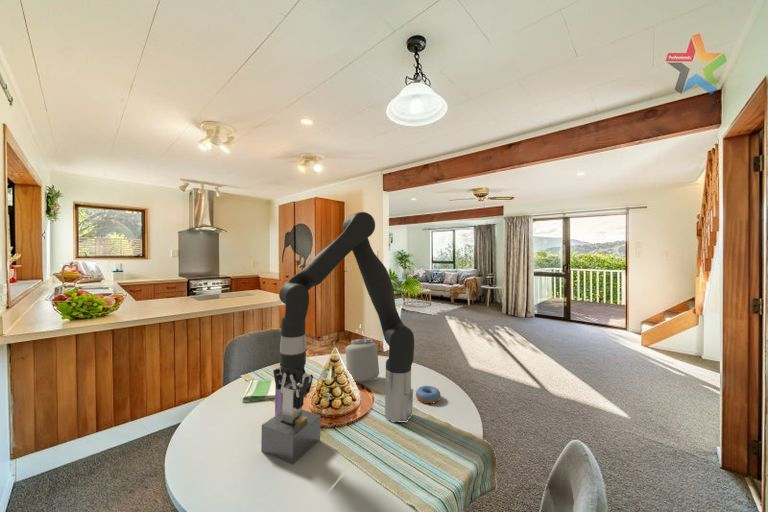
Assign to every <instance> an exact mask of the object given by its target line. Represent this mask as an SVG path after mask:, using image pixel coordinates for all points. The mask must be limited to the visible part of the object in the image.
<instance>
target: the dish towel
mask: <svg viewBox="0 0 768 512" xmlns="http://www.w3.org/2000/svg"><path fill="white" fill-rule="evenodd" d="M298 384H299V383H298ZM271 400H272V401H273V400H275V379H265V380H264V379H263V380H262V379H261V380H255V379H252V380H250V382H249V384H248V386H247V387H246V390H245V392H244V394H243V396H242V401H241V402H242V403H252V402H261V401H271Z"/></svg>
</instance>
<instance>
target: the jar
mask: <svg viewBox="0 0 768 512" xmlns="http://www.w3.org/2000/svg"><path fill="white" fill-rule="evenodd" d="M361 326H362V324H360V325H359V328H360V329H361ZM356 332H358V330H357V329H356ZM361 332H362V333H361V334H362V335H364V333H363V332H364V331H361ZM350 343H351V344H348V345H347V346H346V348H345V358H346V360H345V361H346V371H347V370H348V371H349V373H350V374H351V375H352V377H353V379H354V380H355V381H356V383H359V382H361V383H362V382H368V381H372V380H375V379H377V378H378V377H379V375H380V367H379V354H378V346H377V343H375V342H373V341H371V338H359V339H352V340H350ZM355 381H354V382H355Z"/></svg>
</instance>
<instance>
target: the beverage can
mask: <svg viewBox="0 0 768 512" xmlns="http://www.w3.org/2000/svg"><path fill="white" fill-rule="evenodd" d="M279 384H281V383H280V380H279ZM281 412H282V393H281V391H280V389H276V384H275V399H274V417H275V416H277V415H278V414H280V413H281Z"/></svg>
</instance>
